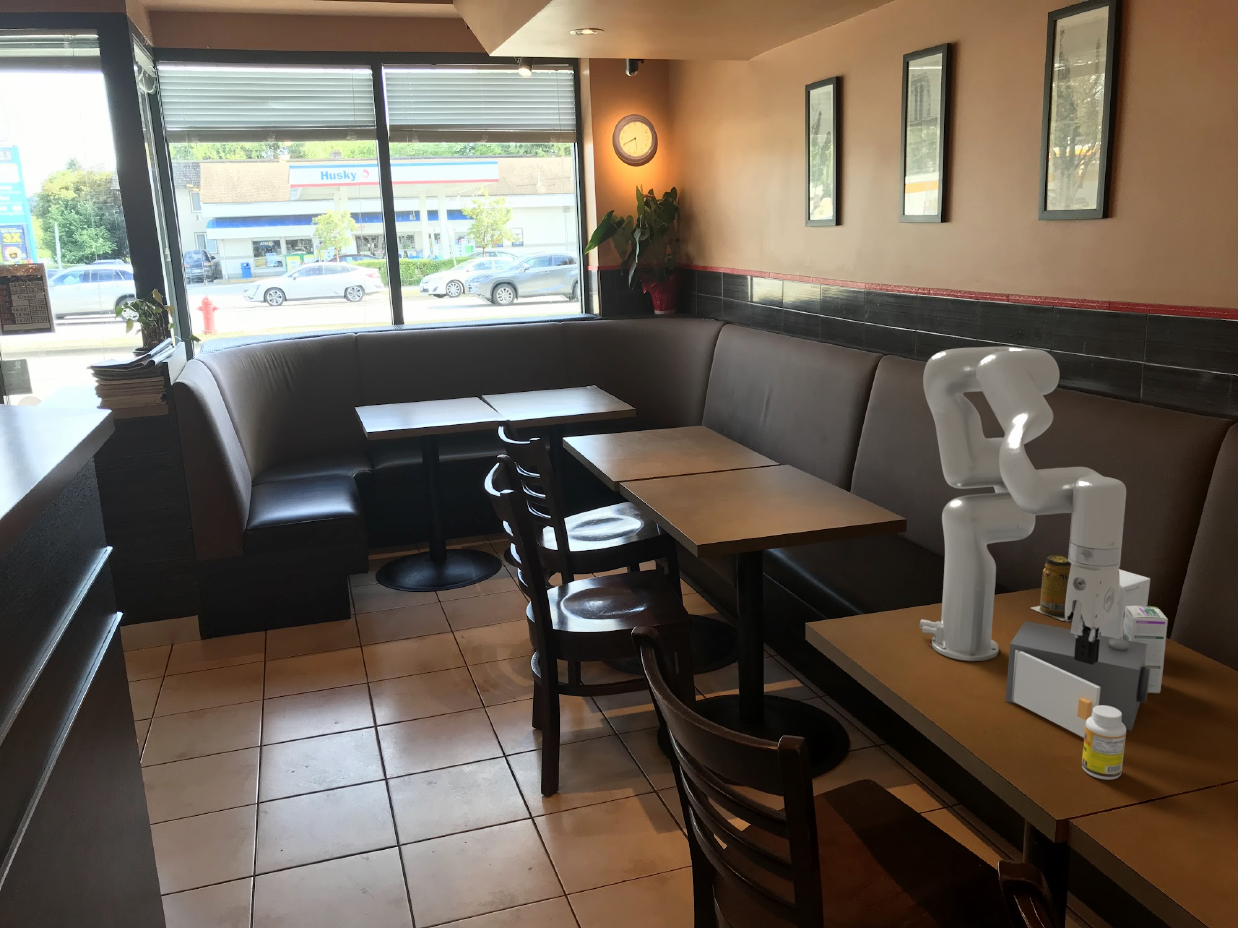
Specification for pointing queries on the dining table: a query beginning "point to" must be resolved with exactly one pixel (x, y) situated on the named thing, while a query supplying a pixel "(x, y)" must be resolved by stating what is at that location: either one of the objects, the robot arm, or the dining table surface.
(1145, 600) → the supplement box
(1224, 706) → the dining table surface
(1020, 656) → the side door
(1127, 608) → the syrup box
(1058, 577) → the condiment
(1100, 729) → the supplement bottle
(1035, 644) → the box
